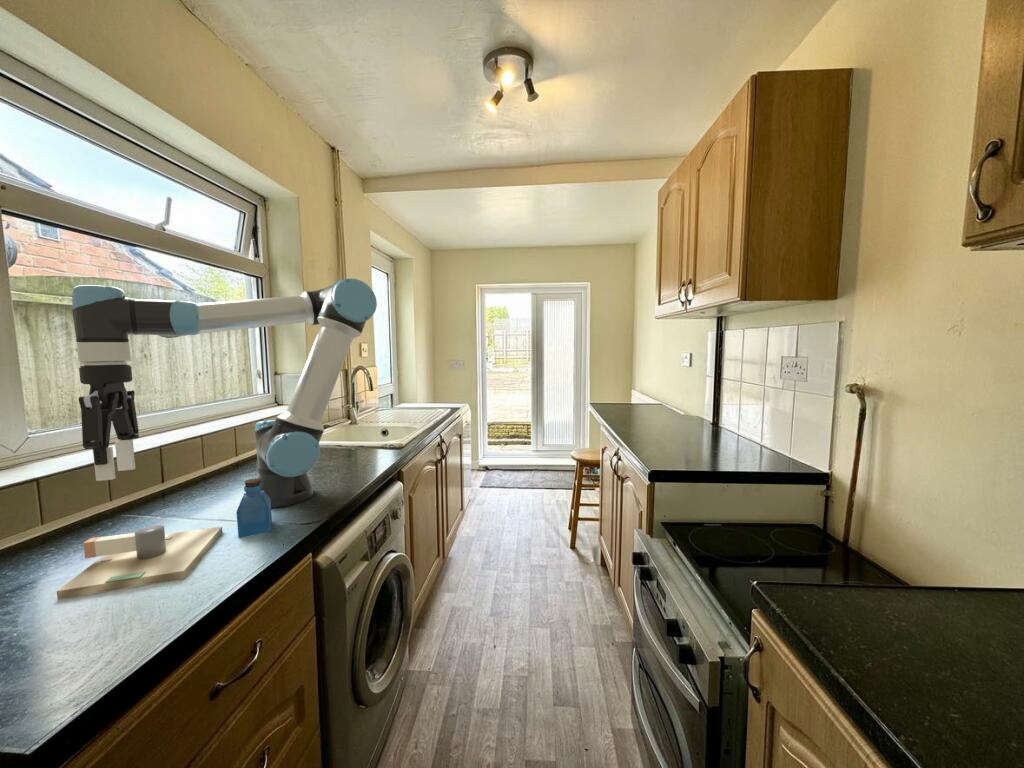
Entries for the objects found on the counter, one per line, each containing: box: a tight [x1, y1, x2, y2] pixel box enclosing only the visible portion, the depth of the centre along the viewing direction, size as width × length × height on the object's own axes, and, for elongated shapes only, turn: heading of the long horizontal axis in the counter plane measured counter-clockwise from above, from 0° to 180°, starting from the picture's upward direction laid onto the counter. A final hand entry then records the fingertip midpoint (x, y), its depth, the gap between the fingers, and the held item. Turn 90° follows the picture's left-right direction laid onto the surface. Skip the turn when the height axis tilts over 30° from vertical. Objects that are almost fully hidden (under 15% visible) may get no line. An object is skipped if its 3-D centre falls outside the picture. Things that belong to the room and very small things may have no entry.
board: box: [56, 526, 223, 600], centre depth 81 cm, size 18×20×2 cm
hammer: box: [82, 524, 166, 560], centre depth 79 cm, size 12×4×5 cm, turn 109°
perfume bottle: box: [236, 477, 273, 539], centre depth 94 cm, size 6×6×12 cm
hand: (116, 474), depth 83 cm, fingers open, 6 cm apart
